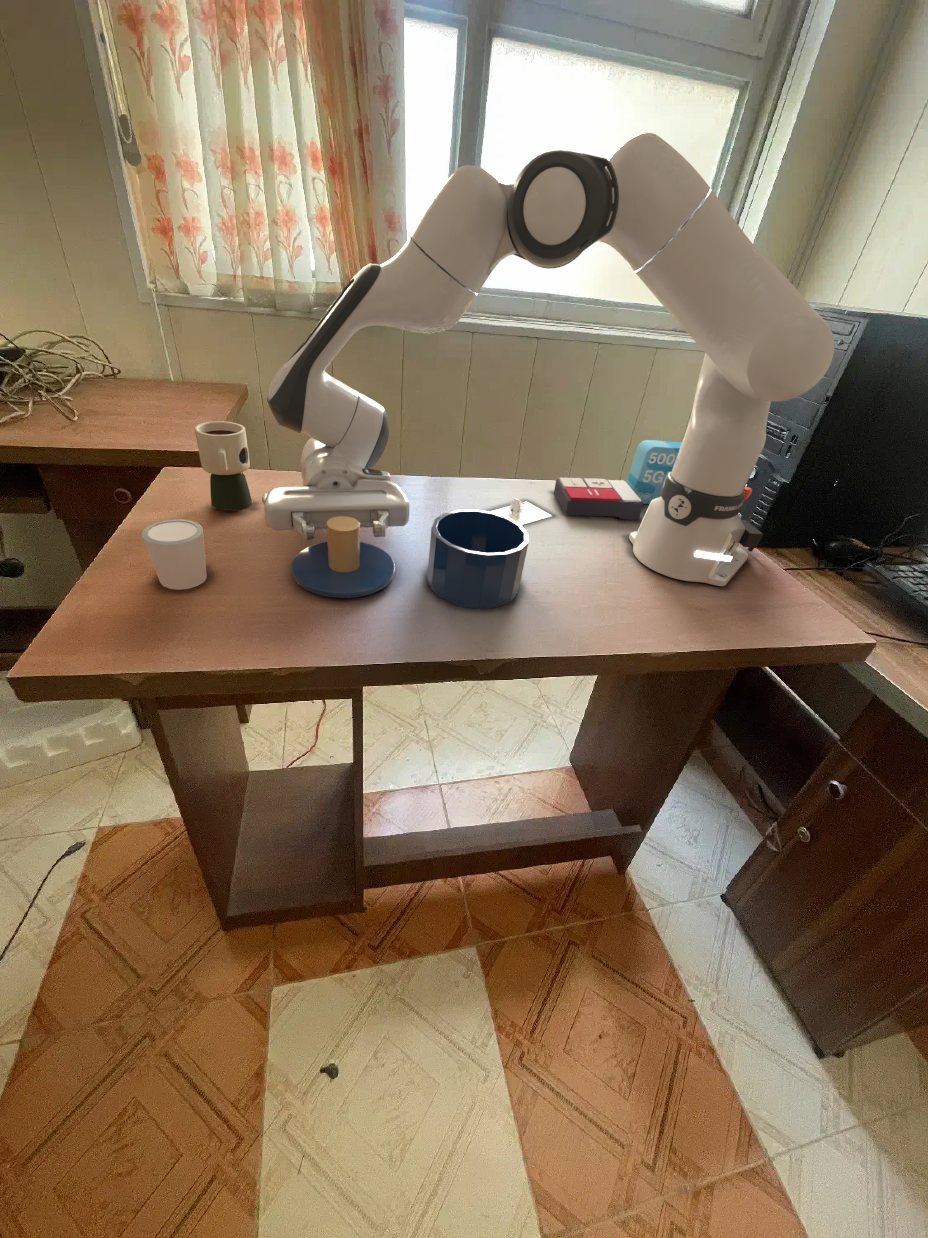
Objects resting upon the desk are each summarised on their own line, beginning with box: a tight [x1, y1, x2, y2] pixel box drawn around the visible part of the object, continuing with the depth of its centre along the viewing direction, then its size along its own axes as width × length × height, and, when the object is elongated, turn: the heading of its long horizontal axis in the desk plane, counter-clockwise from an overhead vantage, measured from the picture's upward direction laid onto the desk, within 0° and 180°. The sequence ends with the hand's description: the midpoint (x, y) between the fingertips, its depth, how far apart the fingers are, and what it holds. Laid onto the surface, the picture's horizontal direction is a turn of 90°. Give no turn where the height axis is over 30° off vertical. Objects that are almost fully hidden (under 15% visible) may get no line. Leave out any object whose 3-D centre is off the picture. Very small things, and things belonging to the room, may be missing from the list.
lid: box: [290, 516, 396, 599], centre depth 73 cm, size 14×14×8 cm
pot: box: [426, 509, 530, 610], centre depth 75 cm, size 13×13×8 cm
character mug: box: [194, 420, 253, 512], centre depth 83 cm, size 11×7×13 cm, turn 19°
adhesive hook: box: [507, 497, 526, 516], centre depth 97 cm, size 3×3×3 cm
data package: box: [625, 439, 682, 505], centre depth 109 cm, size 12×4×12 cm, turn 98°
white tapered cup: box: [141, 518, 208, 591], centre depth 67 cm, size 7×7×7 cm
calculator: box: [553, 477, 644, 521], centre depth 105 cm, size 11×4×15 cm
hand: (345, 533), depth 70 cm, fingers open, 8 cm apart
